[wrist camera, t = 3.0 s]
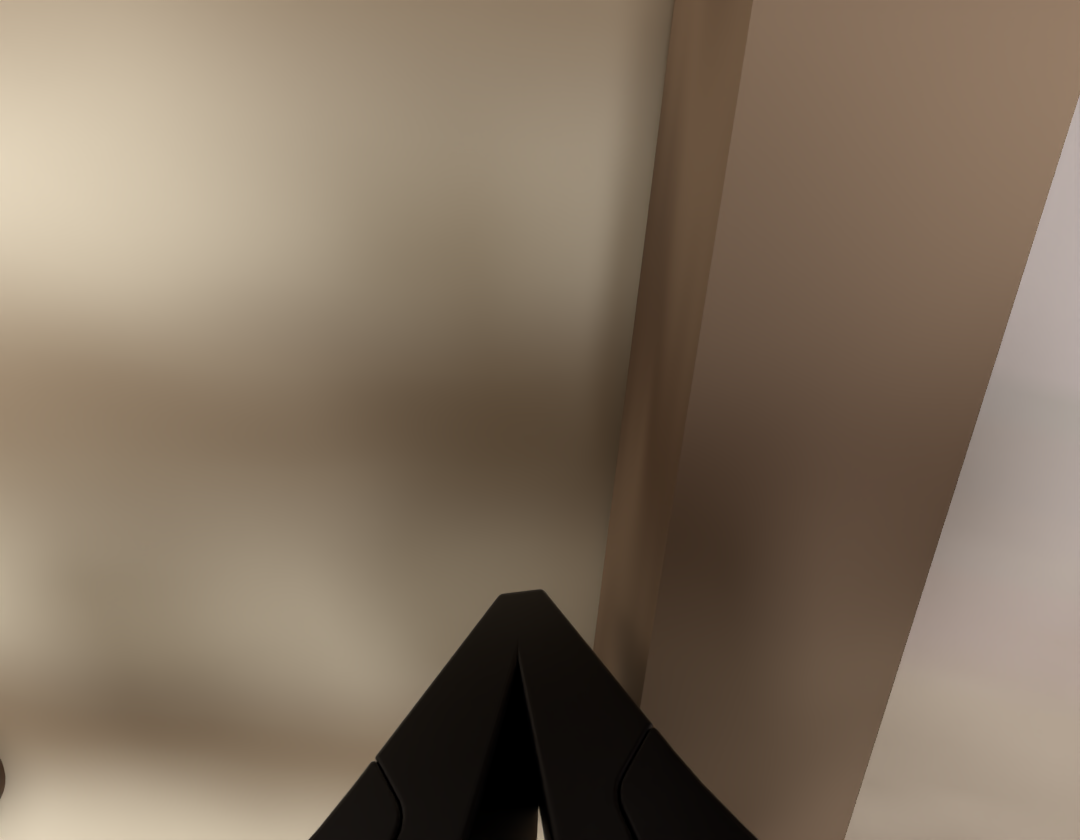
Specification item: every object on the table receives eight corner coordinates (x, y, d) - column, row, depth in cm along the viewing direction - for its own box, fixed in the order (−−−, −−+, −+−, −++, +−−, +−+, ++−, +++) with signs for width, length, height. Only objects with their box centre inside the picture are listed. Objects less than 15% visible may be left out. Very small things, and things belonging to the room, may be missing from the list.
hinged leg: (695, -164, 6) (833, -511, 4) (932, -134, 7) (1249, -442, 4) (590, 671, 10) (619, 840, 7) (749, 677, 10) (841, 846, 7)
